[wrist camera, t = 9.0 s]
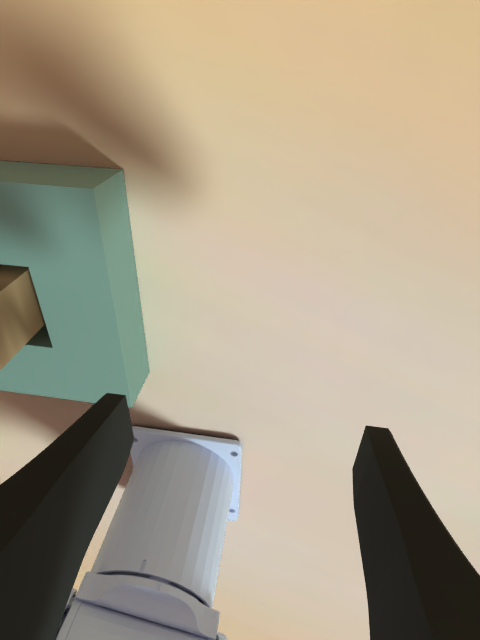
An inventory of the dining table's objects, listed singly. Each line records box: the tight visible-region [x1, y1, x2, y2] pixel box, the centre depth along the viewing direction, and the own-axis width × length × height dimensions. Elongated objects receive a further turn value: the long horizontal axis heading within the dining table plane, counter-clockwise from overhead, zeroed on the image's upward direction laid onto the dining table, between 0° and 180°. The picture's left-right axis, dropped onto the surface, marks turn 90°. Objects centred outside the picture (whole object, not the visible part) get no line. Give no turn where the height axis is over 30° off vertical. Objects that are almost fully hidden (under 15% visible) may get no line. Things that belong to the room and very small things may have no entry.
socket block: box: [0, 161, 149, 408], centre depth 20 cm, size 12×12×3 cm
